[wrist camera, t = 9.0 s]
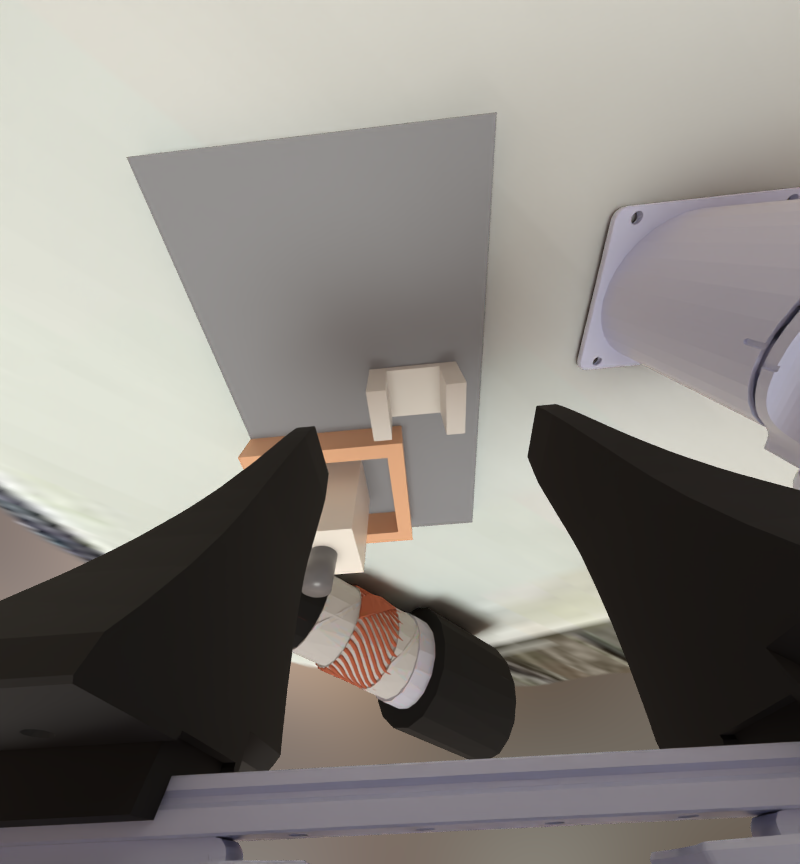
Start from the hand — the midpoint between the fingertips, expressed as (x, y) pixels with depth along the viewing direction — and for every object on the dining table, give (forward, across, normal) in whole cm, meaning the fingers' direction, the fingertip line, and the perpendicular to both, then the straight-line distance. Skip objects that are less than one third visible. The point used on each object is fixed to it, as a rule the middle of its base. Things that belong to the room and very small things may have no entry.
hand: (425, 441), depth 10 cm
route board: (+9, +4, +2) cm, 10 cm away
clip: (+9, 0, +2) cm, 10 cm away
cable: (+10, +7, +25) cm, 28 cm away
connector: (+8, +6, +9) cm, 14 cm away
